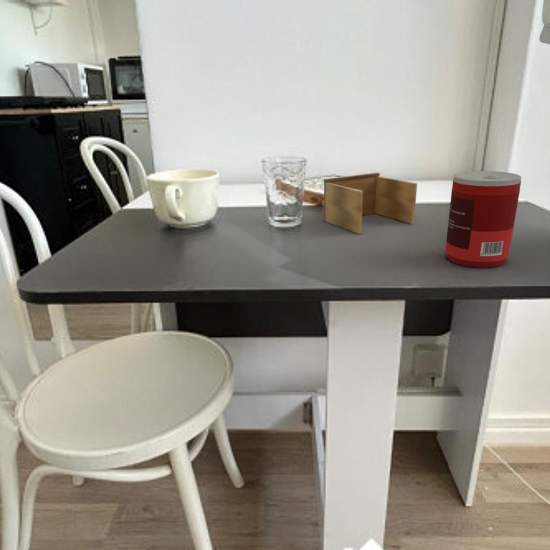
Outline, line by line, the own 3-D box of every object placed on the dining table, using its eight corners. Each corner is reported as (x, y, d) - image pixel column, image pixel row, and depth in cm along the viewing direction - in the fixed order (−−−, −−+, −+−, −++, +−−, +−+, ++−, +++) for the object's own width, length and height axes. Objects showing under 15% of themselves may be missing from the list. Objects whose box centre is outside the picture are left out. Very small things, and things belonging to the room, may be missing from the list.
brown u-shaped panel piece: (414, 223, 76) (417, 179, 73) (358, 234, 71) (360, 187, 69) (375, 212, 85) (377, 172, 82) (323, 220, 80) (323, 178, 78)
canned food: (516, 256, 59) (530, 173, 55) (494, 273, 53) (508, 182, 49) (459, 246, 64) (469, 169, 60) (434, 260, 58) (442, 177, 54)
